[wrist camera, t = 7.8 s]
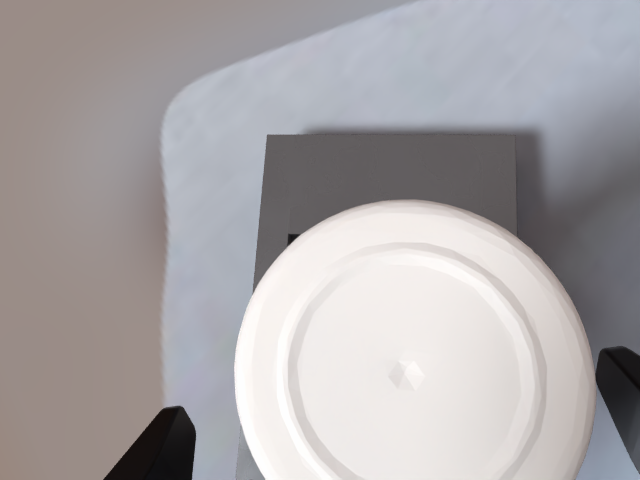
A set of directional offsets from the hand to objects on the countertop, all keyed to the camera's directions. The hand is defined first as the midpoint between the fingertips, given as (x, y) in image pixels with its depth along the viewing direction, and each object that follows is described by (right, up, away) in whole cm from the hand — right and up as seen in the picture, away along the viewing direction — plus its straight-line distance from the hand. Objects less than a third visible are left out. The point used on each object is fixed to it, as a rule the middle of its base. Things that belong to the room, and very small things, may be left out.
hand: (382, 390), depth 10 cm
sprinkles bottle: (+2, -1, +9) cm, 9 cm away
